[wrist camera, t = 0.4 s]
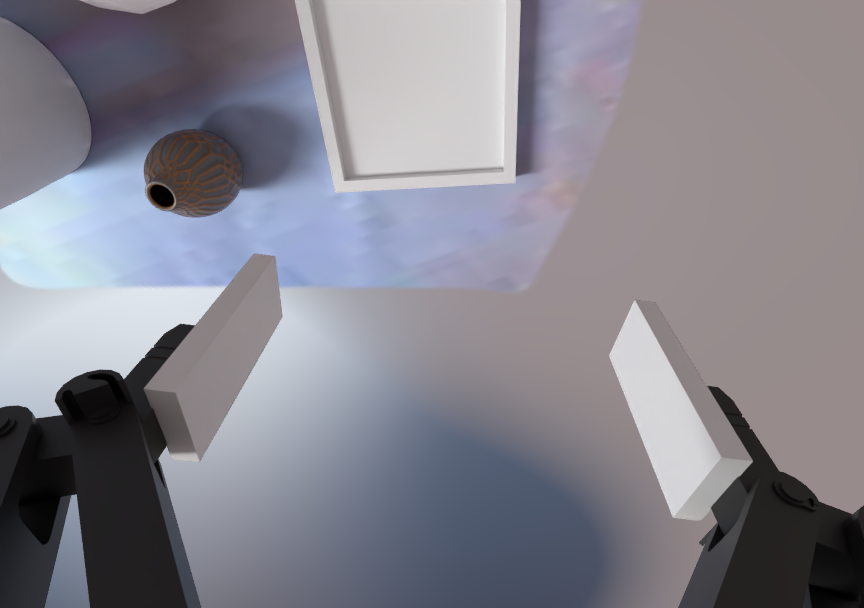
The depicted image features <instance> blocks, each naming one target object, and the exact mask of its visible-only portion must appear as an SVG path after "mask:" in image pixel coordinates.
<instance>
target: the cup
mask: <svg viewBox="0 0 864 608" xmlns="http://www.w3.org/2000/svg"><path fill="white" fill-rule="evenodd" d="M80 1H82V2H85V3H88V4H90V5H93V6H96V7H100V8H105V9H112V10H118V11H125V12H132V13H138V14H144V13H147V12H150V11H152V10H155V9H158V8H160V7H163V6H165V5H168V4H171V3H173V2H175V1H177V0H80Z"/></svg>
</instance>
